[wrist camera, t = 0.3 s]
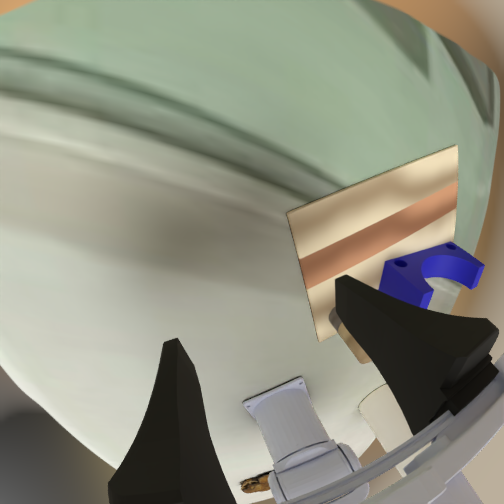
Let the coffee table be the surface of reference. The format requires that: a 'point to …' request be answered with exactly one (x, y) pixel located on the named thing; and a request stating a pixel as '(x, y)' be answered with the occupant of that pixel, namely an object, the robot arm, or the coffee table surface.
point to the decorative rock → (256, 484)
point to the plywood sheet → (373, 227)
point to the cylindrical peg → (348, 338)
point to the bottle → (388, 422)
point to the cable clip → (428, 272)
